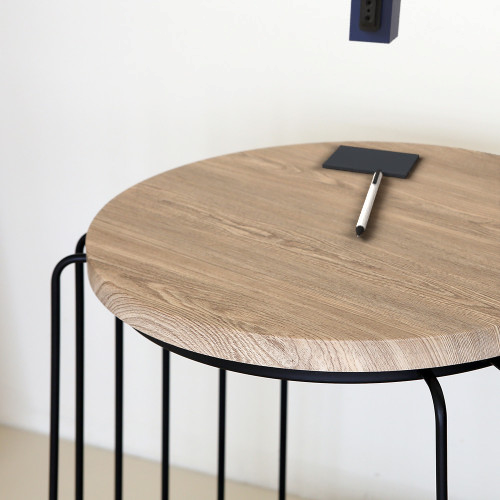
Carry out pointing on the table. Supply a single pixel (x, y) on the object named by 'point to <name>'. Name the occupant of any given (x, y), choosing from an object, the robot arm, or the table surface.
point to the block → (388, 23)
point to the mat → (371, 161)
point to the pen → (368, 203)
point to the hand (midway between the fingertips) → (375, 26)
